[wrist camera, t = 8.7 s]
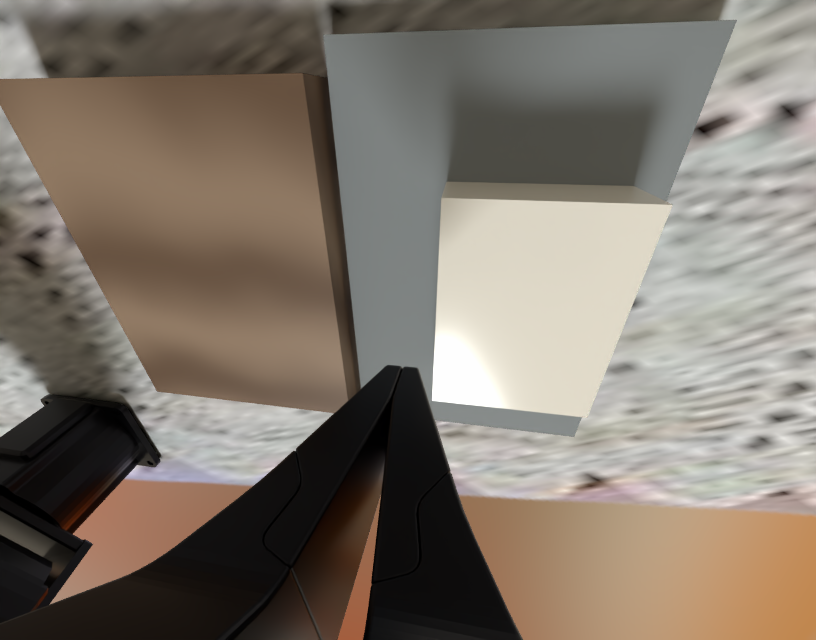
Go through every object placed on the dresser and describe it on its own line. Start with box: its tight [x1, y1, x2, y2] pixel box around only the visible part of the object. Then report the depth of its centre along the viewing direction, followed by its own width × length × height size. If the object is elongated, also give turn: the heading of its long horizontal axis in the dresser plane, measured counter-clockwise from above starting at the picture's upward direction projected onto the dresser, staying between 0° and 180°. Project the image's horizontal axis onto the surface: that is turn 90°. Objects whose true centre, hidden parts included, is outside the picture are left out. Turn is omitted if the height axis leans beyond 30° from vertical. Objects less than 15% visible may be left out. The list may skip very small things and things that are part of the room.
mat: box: [323, 20, 737, 437], centre depth 14 cm, size 16×11×1 cm
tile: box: [432, 182, 672, 418], centre depth 12 cm, size 8×6×2 cm
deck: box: [0, 73, 361, 413], centre depth 15 cm, size 14×11×2 cm
